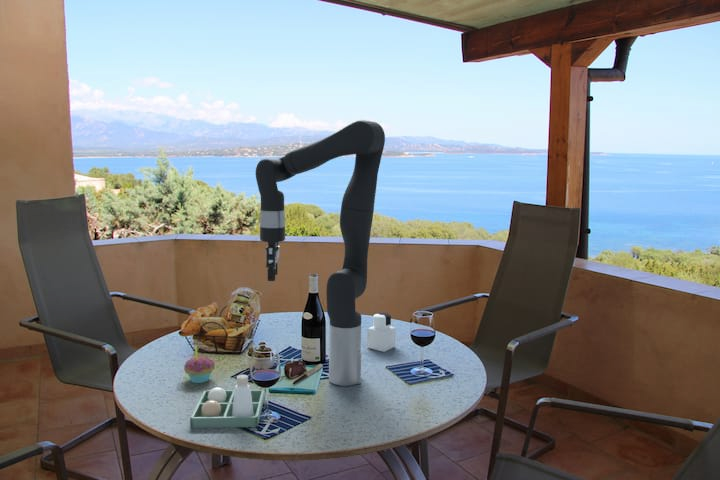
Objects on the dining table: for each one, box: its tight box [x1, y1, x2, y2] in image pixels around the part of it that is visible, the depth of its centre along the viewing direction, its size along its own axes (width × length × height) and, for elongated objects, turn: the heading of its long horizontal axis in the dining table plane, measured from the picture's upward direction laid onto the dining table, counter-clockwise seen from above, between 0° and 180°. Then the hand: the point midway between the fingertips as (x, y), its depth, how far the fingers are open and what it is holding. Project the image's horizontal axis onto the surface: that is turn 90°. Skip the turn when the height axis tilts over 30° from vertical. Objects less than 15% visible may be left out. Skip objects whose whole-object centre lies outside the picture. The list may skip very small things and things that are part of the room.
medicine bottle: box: [367, 312, 397, 353], centre depth 189 cm, size 7×7×12 cm
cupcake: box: [183, 343, 216, 384], centre depth 157 cm, size 9×8×12 cm
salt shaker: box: [232, 374, 254, 417], centre depth 134 cm, size 5×5×11 cm
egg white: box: [208, 386, 227, 403], centre depth 142 cm, size 5×5×5 cm
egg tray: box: [189, 389, 265, 429], centre depth 138 cm, size 16×16×3 cm
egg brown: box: [201, 400, 221, 417], centre depth 134 cm, size 5×5×5 cm
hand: (272, 277), depth 167 cm, fingers open, 8 cm apart
